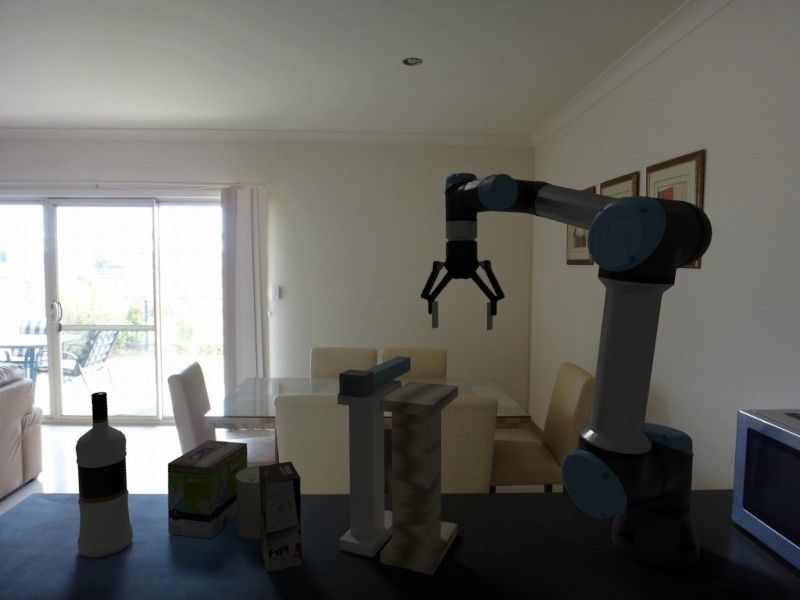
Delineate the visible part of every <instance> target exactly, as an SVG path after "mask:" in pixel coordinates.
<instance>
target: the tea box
mask: <svg viewBox="0 0 800 600" xmlns="http://www.w3.org/2000/svg"><path fill="white" fill-rule="evenodd" d="M248 467H249V466H248V443H246V442H237V441H236V442H235V441H225V440H211V439H208V440H206V441H205V442H202V443H201V444H200V445H198V446H196V447H194V448H192V449H191V450H189V451H187V452H186V453H183V454H182V455H180V456H178V457H177V458H175V459H173V460H171V461H170V462H168V464H167V512H168V513H167V517H168V518H167V524H168V525H167V527H168V529H167V530H168V531H167V532H168V534H171V535H176V536H184V537H192V538H198V539H199V538H200V539H212V538H213V537H214V536H215V535H216V534H217V533H218V532H219V531H220V530H222V529H223V528H224V527H225V526H226V525H227V524H229V522H230V521H232V520H233V519H235V517H237V489H236V474H237V473H238V472H239V471H241V470H242V469H245V468H248Z"/></svg>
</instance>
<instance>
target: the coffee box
mask: <svg viewBox="0 0 800 600" xmlns="http://www.w3.org/2000/svg"><path fill="white" fill-rule="evenodd" d="M266 465H267V466H260V467H259V497H260V529H261V539H260V549H261V550H260V551H261V554H262V557H263V561H264V565H265V570H266V571H267V573H270V572H273V571H274V572H275V571H280V570H284V569H288V568H293V567H298V566H301V565H302V514H301V513H302V512H301V511H302V509H301V508H302V505H301V503H302V501H301V500H302V497H301V492H302V490H301V476H300V474H299V472H298V471H297V469H296V468H295V466H294V464H293V462H292V461H285V462H279V463H278V462H277V463H273V464H266Z"/></svg>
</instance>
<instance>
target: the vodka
mask: <svg viewBox="0 0 800 600" xmlns="http://www.w3.org/2000/svg"><path fill="white" fill-rule="evenodd" d="M90 396H91V416H92V417H91V419H92V427H91V428H90V429H89V430H88V431H86V432H85V433H84V434H82V435H81V436H80V437H79V438H78V439H77V442H76V444H75V454H76V455H75V456H76V459H75V460H76V462H75V463H76V465H77V479H78V480H77V481H78V483H77V484H78V501H77V502H78V503H77V504H78V506H79V533H78V538H77V551H78V552H79V554H80V555H81V556H84V557H87V558H95V559H96V558H103V557H108V556H111V555H114V554H116V553H117V554H118V553H119V552H121V551H123V550H124V549H125V548H126V547H127V546H129V545H130V544H131V542H132V540H133V539H134V533H133V532H134V531H133V526H132V524H131V519H130V511H129V503H128V502H129V493H130V492H129V490H128V480H127V479H128V478H127V477H128V475H127V454H128V452H127V438H126V434H124V433H123V432H122V431H121V430H119V429H117V428H115V427H112V426H110V423H109V412H108V409H109V407H108V393H107V392H106V391H97V392H94V393H92V394H90Z"/></svg>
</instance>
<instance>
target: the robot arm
mask: <svg viewBox="0 0 800 600" xmlns="http://www.w3.org/2000/svg"><path fill="white" fill-rule="evenodd" d="M444 201H445V202H444V203H445V204H444V205H445V207H444V208H445V238H446V240H448V241H446V242H445V261H440V260H434V261H433V263H432V270H431V272H430V274H429V276H428V279H426V283H425V285H424V287H423V289H422V292H421V293H420V298H421V299H423V300H426V301H427V313H428V315H431V329H438V328H439V300H436V299H437V298H438V297H439V295H440V294H441V293H442V292H443V290H444V289H445V288H446V287H447V286H448V284H449V283H450V282H451V281H452V280H470V279H471V280H472V281H473V282H474V283H475V284H476V285H477V287H478V288H479V289H480V290H481V292H482V293H483V294H484V295H485V296H486V297H487V299H488V300H489V301H487V302H486V331H491V330H493V328H494V327H493V326H494V325H493V323H494V322H493V321H494V317H495V316H497V314H498V301H500V300H504V299H505V298H506V296H505V293H504V291H503V289H502V286H501V284H500V283H499V282H498V278H497V277H496V275H495V272H494V271H493V268H492V261H491V260H490V259H485V260H480V261H479V259H478V242H477V240H475V239H477V238H478V214H479V213H484V212H485V213H487V212H500V213H501V212H502V213H519V214H528V215H531V216H532V215H533V216H536V217H540V218H543V219H548V220H550V221H554V222H559V223H562V224H565V225H568V226H572V227H575V228H579V229H583V230H585V231H586V230H587V237H586V238H587V239H586V244H587V249H588V254H590V255H591V259H592V260H593V262H594V263H595V264H596V265H597V266H598V272H597V279H598V280H599V281H600V283H602V285H603V286H604V288H605V294H604V302H603V311H602V318H601V327H600V336H599V344H598V353H597V360H596V361H597V362H596V369H595V377H594V386H593V395H592V402H591V403H592V404H591V411H590V420H589V422H587V423H585V424H584V425H582V426H581V427H580V429H579V432H578V434H579V435H578V441H577V442H578V443H577V449H573V450H571V451H570V452H569V453H568V454H566V456H564V458H563V461H562V462H561V468H560V470H561V478H562V482H563V485H564V488H565V490H566V492H567V493H568V494H569V496H570V498H571V500H572V502H573V503H574V504H575V505H576V506H577V507H578V508H579V509H580V510H581V511H583V512H584V513H585V514H587V515H589V516H591V517H593V518H596V519H609V518H613V517H615V518H614V520H613V523H612V526H611V541H612V543H613V545H614V546H615V547H616V548H617V549H618V551H620V552H621V553H623V554H625V555H626V556H628V557H630V558H632V559H633V560H636V561H638V562H641V563H644V564H647V565H651V566H655V567H661V568H667V569H668V568H669V569H671V568H672V569H680V568H687V567H691V566H693V565H694V564H696V563H697V562H698V561H699V560H700V557H701V552H700V551H701V544H700V539H699V536H698V533H697V530H696V527H695V523H694V520H693V517H692V513H691V508H692V506H691V503H692V482H693V463H694V462H693V461H694V456H695V453H694V452H693V449H694V447H693V443H694V442H693V439H692V438H691V436H690V435H689V434H688V433H686V432H684V431H682V430H680V429H676V428H674V427H671V426H666V425H662V424H656V423H650V422H646V416H647V415H646V414H647V408H648V401H649V394H650V387H651V380H652V379H651V378H652V373H653V365H654V364H653V363H654V357H655V356H654V355H655V350H656V345H657V337H658V336H657V335H658V330H659V329H658V328H659V324H660V323H659V320H660V314H661V307H662V300H663V294H665V292H667V291H668V290H669V289H670V290H671V288H673V287H674V286H675V284H676V275H677V270H678V269H682V268H685V267H688V266H690V265H693V264H695V263H696V262H697V261H699V260H700V259H701V258H702V257H703V256H704V255H705V253H706V252H707V251H708V249H709V247H710V245H711V243H712V240H713V239H712V238H713V226H712V223H711V220H710V218H709V217H708V215H707V213H706V212H705V211H704V209H702V208H700V206H698V205H696V204H695V203H691V202H689V201H685V200H680V199H679V200H678V199H667V198H659V197H651V196H643V195H640V196H639V195H638V196H623V197H619V198H618V197H613V196H609V195H604V194H599V193H594V192H590V191H584V190H581V189H580V190H579V189H575V188H570V187H566V186H561V185H555V184H552V183H550V182H547V181H542V180H525V179H518V178H517V179H516V178H513V177H512V176H510V174H507V173H500V174H496V173H495V174H490V175H487V176H484V177H480V178H477V175H476V174H474V173H470V172H458V173H452V174H449V175H448V176H446V179H445V190H444ZM479 267H481V269H482V270H483V271H484V272H485V275H486V276H487V279H488V281H489V283H490V285H491V287H492V289H493V291H494V293H493V291H492V290H491V288H490V287H489V286H488V285H487V283H485V282H484V280H483V279H482V277H481V276H480V275H479V273H478V272H477V270H478V269H479ZM443 268H444V269H445V270H446V271H447V272H446V273H445V274H444V276H442V277H443V278H442V279H441V280H440V282H438V284H436V285H437V286H435V288H434V285H435V283H436V281H437V279H438V276H439V274H440V272H441V271H442V270H443ZM433 288H434V289H433Z"/></svg>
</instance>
